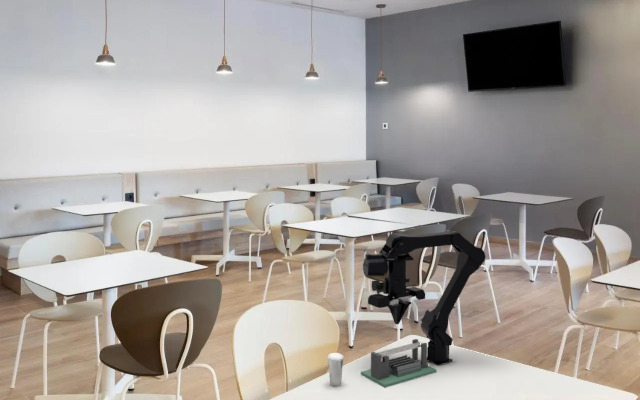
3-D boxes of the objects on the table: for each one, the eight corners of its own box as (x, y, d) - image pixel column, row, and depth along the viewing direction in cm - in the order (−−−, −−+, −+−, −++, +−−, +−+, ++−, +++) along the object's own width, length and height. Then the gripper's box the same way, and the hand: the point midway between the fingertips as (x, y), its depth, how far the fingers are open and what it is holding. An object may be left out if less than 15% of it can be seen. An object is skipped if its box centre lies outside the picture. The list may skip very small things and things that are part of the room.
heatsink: (405, 363, 191) (405, 354, 190) (421, 370, 185) (421, 361, 185) (382, 369, 186) (382, 360, 186) (397, 377, 180) (398, 368, 180)
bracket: (416, 361, 192) (416, 338, 191) (428, 367, 188) (428, 343, 187) (410, 363, 191) (410, 340, 190) (422, 368, 186) (422, 344, 186)
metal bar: (418, 347, 190) (418, 340, 190) (423, 350, 188) (423, 343, 188) (375, 359, 181) (375, 352, 181) (381, 362, 179) (381, 354, 179)
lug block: (381, 373, 183) (381, 349, 183) (388, 377, 180) (389, 353, 180) (370, 375, 181) (370, 352, 180) (378, 380, 178) (378, 356, 177)
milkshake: (344, 388, 175) (344, 354, 174) (326, 386, 176) (326, 353, 175) (347, 381, 179) (347, 348, 178) (329, 380, 180) (329, 347, 179)
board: (411, 360, 195) (411, 357, 195) (436, 372, 186) (436, 369, 186) (360, 374, 185) (360, 371, 184) (384, 387, 175) (384, 384, 175)
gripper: (403, 266, 201) (402, 312, 202) (357, 273, 191) (357, 322, 192) (426, 272, 191) (426, 321, 193) (379, 280, 181) (379, 332, 183)
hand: (396, 324), depth 191 cm, fingers closed
